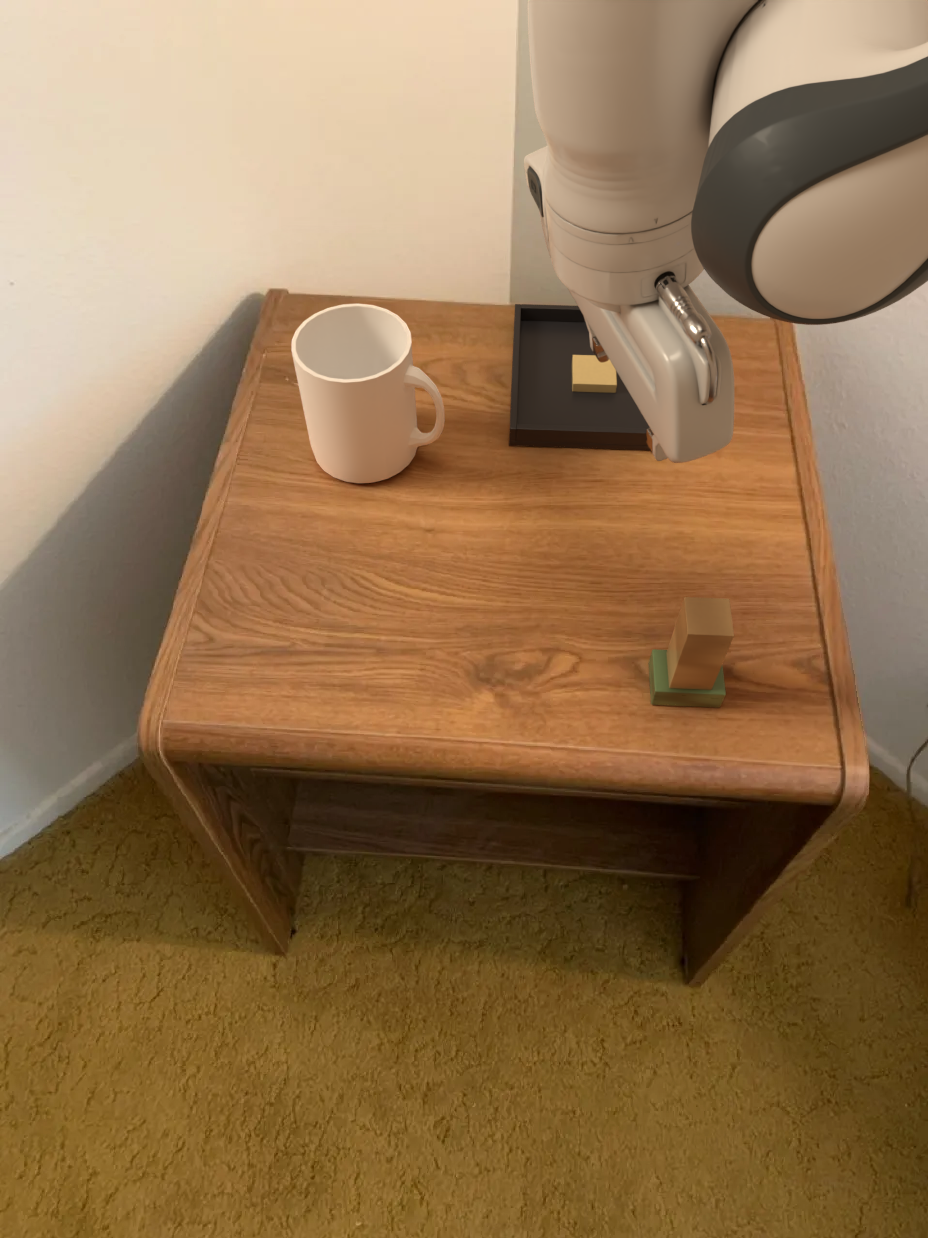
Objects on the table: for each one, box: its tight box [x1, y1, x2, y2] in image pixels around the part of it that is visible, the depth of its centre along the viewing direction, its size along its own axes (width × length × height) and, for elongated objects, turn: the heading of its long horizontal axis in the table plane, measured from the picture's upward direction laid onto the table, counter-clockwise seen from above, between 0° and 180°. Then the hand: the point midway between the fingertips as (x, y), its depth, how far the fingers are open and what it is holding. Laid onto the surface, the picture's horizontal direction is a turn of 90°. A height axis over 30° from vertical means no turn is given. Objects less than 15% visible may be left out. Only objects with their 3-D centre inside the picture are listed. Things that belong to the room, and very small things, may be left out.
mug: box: [290, 303, 446, 484], centre depth 77 cm, size 10×12×12 cm
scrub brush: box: [647, 596, 735, 709], centre depth 64 cm, size 5×4×9 cm
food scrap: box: [572, 355, 617, 393], centre depth 86 cm, size 4×4×1 cm
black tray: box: [508, 303, 651, 451], centre depth 86 cm, size 15×17×2 cm
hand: (634, 399), depth 61 cm, fingers open, 8 cm apart
